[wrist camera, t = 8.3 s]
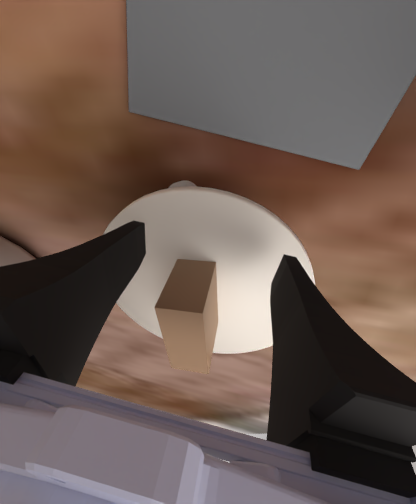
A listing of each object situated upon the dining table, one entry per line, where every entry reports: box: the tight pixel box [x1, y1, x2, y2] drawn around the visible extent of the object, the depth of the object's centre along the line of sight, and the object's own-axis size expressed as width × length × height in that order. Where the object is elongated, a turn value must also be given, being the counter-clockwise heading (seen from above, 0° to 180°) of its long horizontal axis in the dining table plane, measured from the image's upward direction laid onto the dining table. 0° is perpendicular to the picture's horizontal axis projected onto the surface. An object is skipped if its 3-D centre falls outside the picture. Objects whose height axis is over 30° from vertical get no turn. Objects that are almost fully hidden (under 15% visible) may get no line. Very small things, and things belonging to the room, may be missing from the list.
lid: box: [103, 186, 315, 374], centre depth 15 cm, size 15×15×5 cm
